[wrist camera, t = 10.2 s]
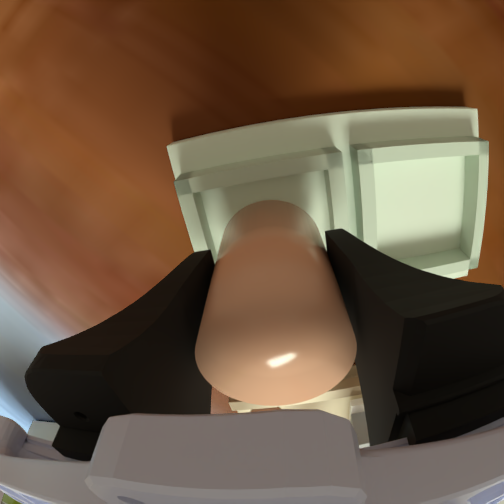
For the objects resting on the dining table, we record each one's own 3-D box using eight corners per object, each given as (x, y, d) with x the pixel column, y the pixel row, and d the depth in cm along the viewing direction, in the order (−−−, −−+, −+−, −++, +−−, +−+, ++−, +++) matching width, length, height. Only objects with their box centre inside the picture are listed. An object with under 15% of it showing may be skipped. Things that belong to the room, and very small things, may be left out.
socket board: (465, 106, 11) (492, 112, 10) (459, 265, 16) (477, 287, 14) (172, 142, 13) (157, 151, 11) (220, 306, 17) (215, 334, 15)
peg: (309, 188, 12) (348, 277, 6) (328, 276, 13) (360, 389, 8) (207, 215, 12) (168, 316, 7) (238, 297, 14) (226, 412, 9)
